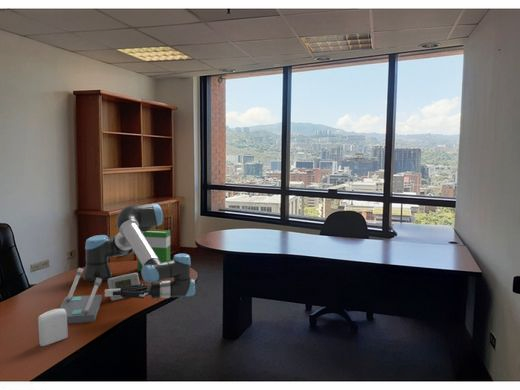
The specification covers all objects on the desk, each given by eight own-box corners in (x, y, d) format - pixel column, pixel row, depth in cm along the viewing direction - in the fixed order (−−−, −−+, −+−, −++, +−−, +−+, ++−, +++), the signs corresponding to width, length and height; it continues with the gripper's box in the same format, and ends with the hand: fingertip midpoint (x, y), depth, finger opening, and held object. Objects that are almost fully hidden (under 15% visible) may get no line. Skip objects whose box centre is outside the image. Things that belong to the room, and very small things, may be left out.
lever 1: (72, 297, 196) (84, 269, 195) (70, 302, 191) (82, 272, 190) (67, 296, 195) (78, 267, 195) (64, 300, 190) (76, 271, 189)
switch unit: (101, 300, 200) (101, 294, 200) (94, 321, 177) (94, 314, 177) (65, 302, 197) (65, 296, 196) (53, 324, 173) (53, 317, 173)
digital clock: (109, 302, 199) (109, 281, 197) (105, 296, 206) (105, 275, 205) (143, 296, 207) (143, 275, 206) (138, 290, 215) (137, 271, 213)
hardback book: (137, 270, 247) (137, 231, 244) (142, 267, 255) (142, 229, 252) (166, 272, 246) (166, 232, 243) (170, 268, 253) (170, 230, 250)
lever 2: (89, 309, 183) (102, 278, 182) (87, 314, 178) (100, 283, 177) (84, 308, 182) (96, 277, 182) (82, 313, 177) (95, 281, 177)
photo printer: (42, 347, 154) (40, 316, 153) (37, 343, 157) (35, 312, 155) (69, 338, 162) (68, 308, 160) (64, 334, 165) (63, 305, 163)
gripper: (160, 302, 181) (103, 306, 175) (160, 292, 193) (106, 295, 187) (160, 286, 180) (102, 289, 174) (160, 276, 192) (106, 279, 187)
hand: (105, 293), depth 181 cm, fingers closed
